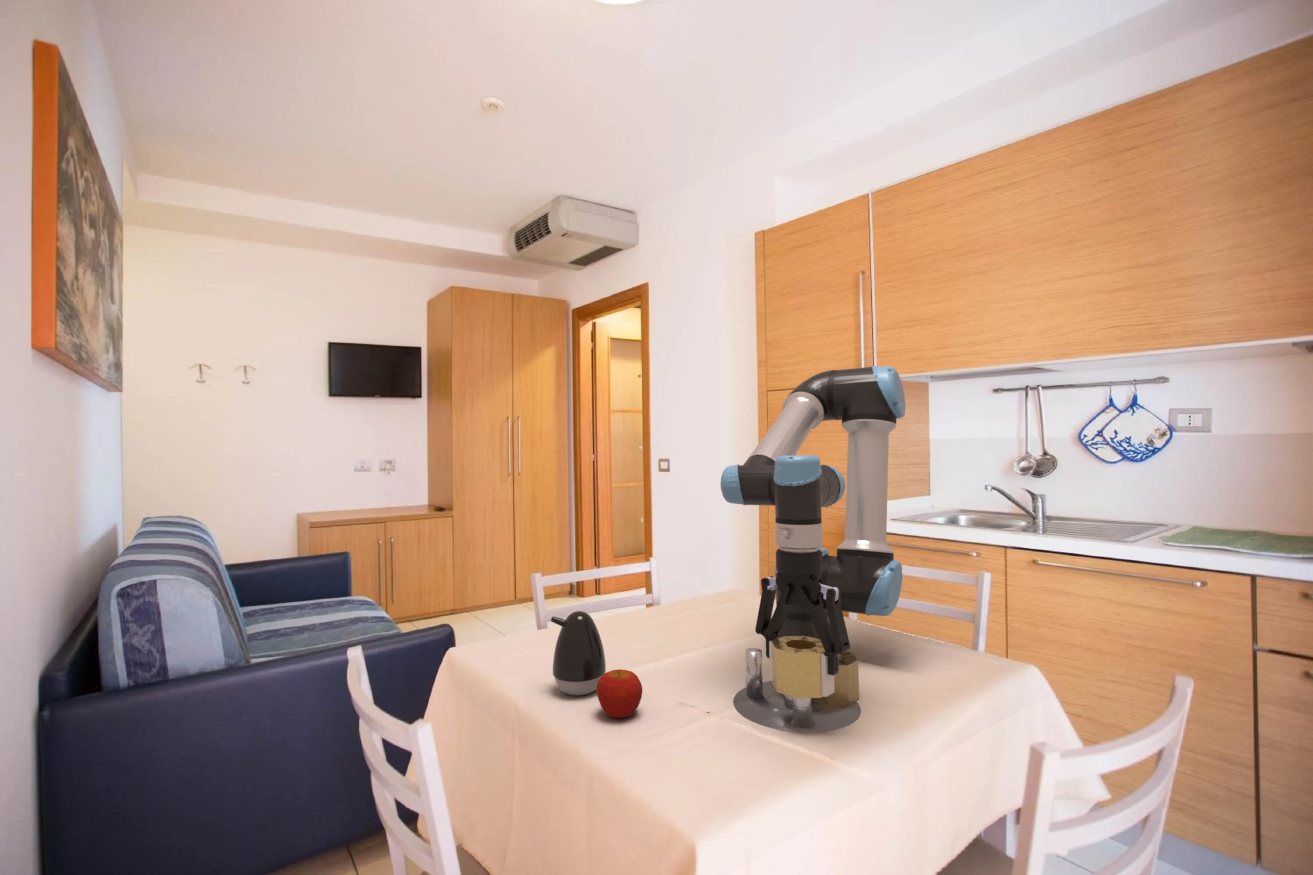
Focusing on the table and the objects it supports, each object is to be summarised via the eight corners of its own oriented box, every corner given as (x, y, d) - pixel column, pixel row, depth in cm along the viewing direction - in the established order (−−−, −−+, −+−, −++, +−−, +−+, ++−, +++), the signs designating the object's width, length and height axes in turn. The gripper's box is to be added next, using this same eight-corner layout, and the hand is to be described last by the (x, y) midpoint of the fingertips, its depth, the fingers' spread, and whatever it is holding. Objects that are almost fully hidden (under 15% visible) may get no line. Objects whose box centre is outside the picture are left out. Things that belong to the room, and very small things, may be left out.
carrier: (707, 709, 109) (707, 659, 110) (778, 675, 125) (777, 632, 125) (818, 751, 94) (817, 692, 94) (883, 706, 109) (882, 656, 110)
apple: (637, 726, 103) (636, 679, 104) (591, 723, 105) (591, 676, 105) (645, 707, 111) (645, 663, 111) (603, 704, 112) (603, 661, 113)
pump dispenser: (554, 681, 124) (553, 605, 124) (606, 679, 125) (604, 603, 125) (549, 702, 114) (548, 619, 114) (606, 699, 115) (604, 617, 115)
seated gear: (796, 695, 113) (795, 657, 113) (821, 682, 119) (820, 645, 119) (841, 710, 106) (840, 669, 107) (865, 694, 113) (865, 656, 113)
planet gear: (763, 687, 102) (762, 644, 102) (793, 673, 108) (792, 632, 108) (811, 702, 95) (810, 657, 95) (840, 686, 102) (839, 643, 102)
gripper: (732, 544, 107) (734, 675, 107) (848, 558, 92) (852, 711, 91) (757, 539, 112) (760, 664, 112) (872, 552, 97) (875, 697, 96)
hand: (801, 685), depth 101 cm, fingers closed on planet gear, 9 cm apart
